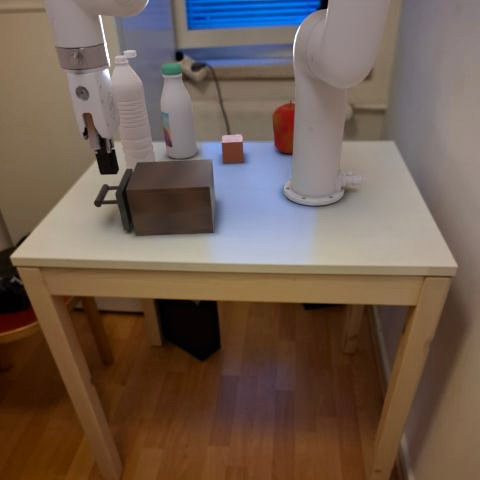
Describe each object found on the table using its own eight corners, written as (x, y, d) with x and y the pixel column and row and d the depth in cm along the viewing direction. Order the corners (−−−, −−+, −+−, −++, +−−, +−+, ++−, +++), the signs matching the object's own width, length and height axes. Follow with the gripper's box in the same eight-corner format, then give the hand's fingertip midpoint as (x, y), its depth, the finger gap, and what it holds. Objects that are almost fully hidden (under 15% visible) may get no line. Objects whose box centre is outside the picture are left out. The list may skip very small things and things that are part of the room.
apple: (272, 144, 114) (273, 95, 106) (305, 144, 113) (308, 94, 105) (270, 157, 107) (271, 105, 99) (305, 157, 106) (308, 105, 98)
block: (243, 154, 109) (242, 134, 106) (243, 162, 105) (242, 141, 102) (223, 155, 109) (221, 135, 106) (222, 163, 105) (221, 142, 102)
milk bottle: (200, 148, 113) (191, 60, 100) (193, 159, 108) (183, 68, 94) (171, 147, 114) (159, 61, 101) (163, 159, 109) (149, 68, 95)
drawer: (97, 231, 81) (87, 194, 77) (110, 204, 90) (101, 169, 85) (195, 227, 81) (191, 190, 76) (199, 200, 89) (195, 165, 84)
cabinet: (135, 235, 81) (125, 189, 75) (145, 205, 90) (137, 162, 84) (213, 232, 81) (209, 186, 75) (215, 202, 90) (212, 159, 84)
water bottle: (152, 189, 96) (128, 59, 80) (125, 187, 98) (96, 59, 81) (166, 172, 102) (147, 49, 86) (140, 171, 104) (117, 49, 87)
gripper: (96, 68, 62) (122, 190, 74) (117, 47, 73) (137, 156, 85) (43, 69, 62) (78, 191, 74) (72, 48, 73) (98, 157, 85)
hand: (109, 172), depth 79 cm, fingers closed
